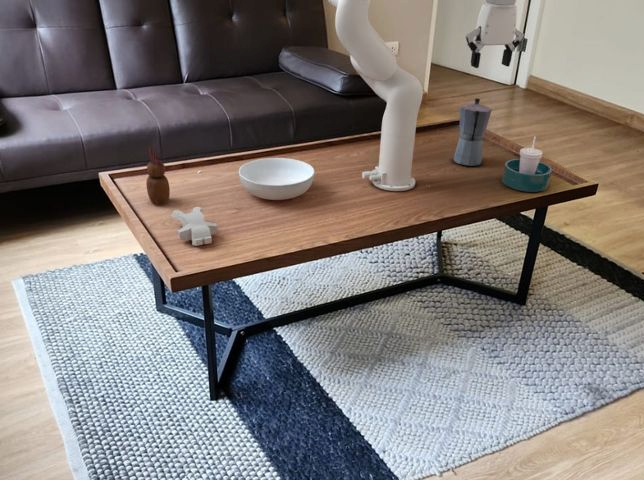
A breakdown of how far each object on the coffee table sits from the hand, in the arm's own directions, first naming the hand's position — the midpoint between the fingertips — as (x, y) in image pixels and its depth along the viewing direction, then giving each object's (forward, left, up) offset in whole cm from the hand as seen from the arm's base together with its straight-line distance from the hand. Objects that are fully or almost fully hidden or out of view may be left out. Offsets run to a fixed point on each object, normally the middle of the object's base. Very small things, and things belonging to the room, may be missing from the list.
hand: (490, 66), depth 179 cm
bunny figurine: (-86, -18, -32) cm, 94 cm away
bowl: (+12, -10, -32) cm, 36 cm away
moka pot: (+4, +10, -32) cm, 34 cm away
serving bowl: (-61, +1, -32) cm, 69 cm away
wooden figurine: (-93, +3, -32) cm, 99 cm away
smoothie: (+12, -10, -32) cm, 36 cm away
